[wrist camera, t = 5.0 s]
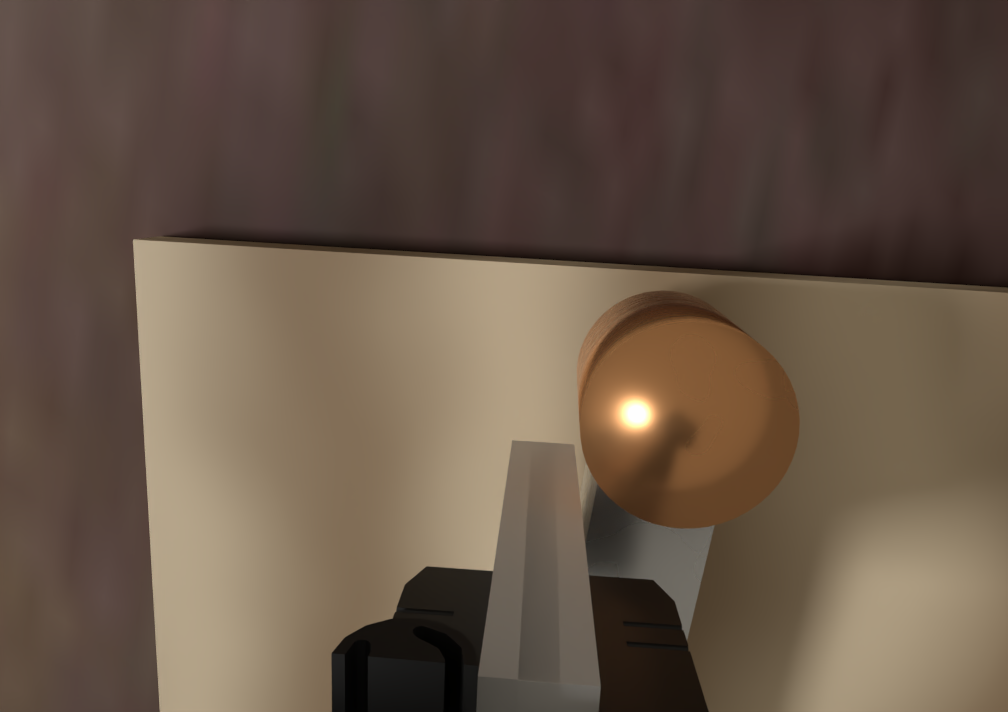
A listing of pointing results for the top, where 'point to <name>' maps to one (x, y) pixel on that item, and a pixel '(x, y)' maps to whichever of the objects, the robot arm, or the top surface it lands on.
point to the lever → (675, 437)
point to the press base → (555, 419)
